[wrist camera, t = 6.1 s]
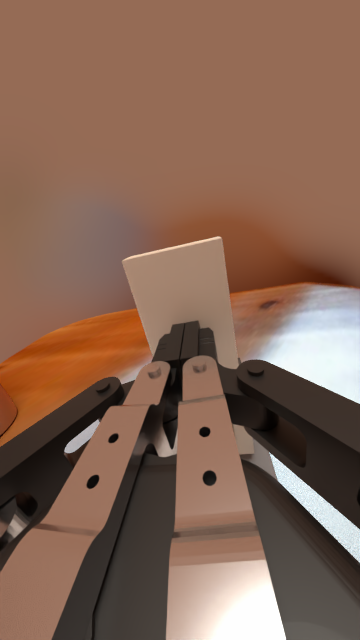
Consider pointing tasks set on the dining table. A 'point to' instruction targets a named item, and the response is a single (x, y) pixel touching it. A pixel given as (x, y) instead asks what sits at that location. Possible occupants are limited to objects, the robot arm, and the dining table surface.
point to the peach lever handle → (187, 300)
